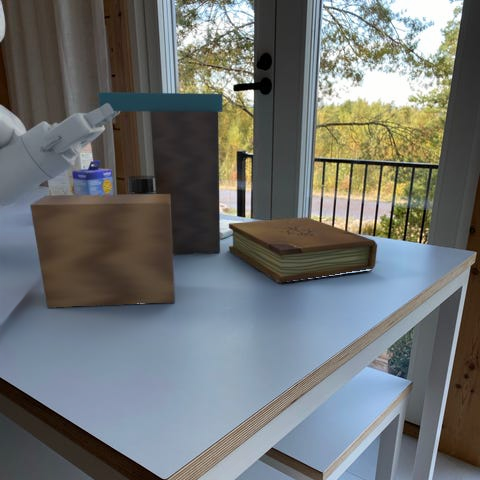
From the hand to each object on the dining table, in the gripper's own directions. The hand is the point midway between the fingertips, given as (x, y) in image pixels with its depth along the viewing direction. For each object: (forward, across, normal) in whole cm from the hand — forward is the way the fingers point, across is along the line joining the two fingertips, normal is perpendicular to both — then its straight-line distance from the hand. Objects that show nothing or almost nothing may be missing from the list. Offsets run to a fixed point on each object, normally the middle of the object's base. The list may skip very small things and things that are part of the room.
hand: (114, 107), depth 86 cm
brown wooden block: (-13, -27, +23) cm, 38 cm away
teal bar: (+7, 0, +5) cm, 9 cm away
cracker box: (-32, +59, +12) cm, 68 cm away
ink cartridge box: (-23, +37, +17) cm, 47 cm away
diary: (+15, -11, +40) cm, 44 cm away
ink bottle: (-11, +21, +24) cm, 34 cm away
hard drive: (+4, +15, +34) cm, 37 cm away
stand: (-2, 0, +29) cm, 29 cm away
